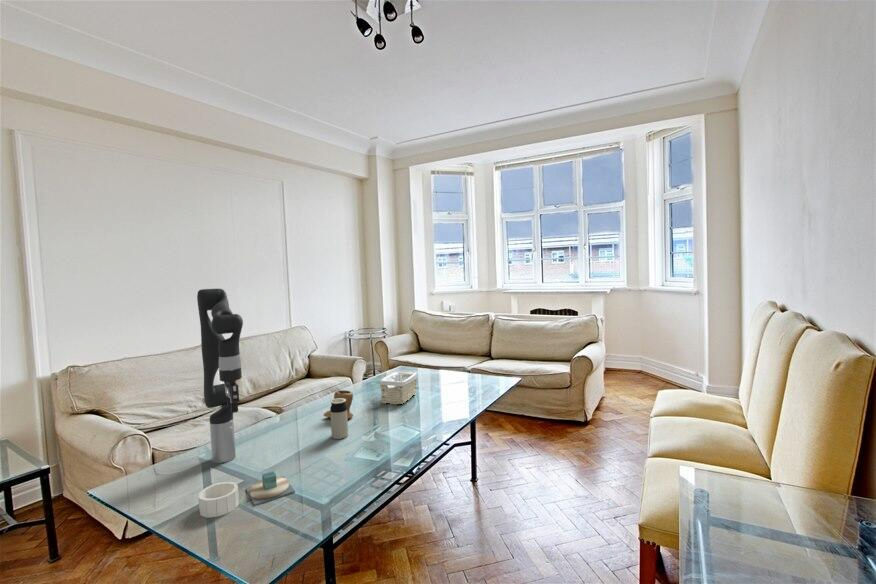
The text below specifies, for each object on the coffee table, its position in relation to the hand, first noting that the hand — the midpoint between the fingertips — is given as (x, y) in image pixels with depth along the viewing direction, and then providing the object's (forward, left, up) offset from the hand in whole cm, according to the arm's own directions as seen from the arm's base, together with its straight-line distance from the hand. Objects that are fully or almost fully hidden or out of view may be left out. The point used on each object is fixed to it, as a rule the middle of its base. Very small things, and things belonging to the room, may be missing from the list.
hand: (232, 409), depth 160 cm
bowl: (+12, -8, -30) cm, 33 cm away
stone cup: (-45, +61, -30) cm, 82 cm away
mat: (+12, +9, -30) cm, 34 cm away
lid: (+12, +9, -30) cm, 33 cm away
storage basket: (-51, +103, -30) cm, 119 cm away
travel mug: (-20, +50, -30) cm, 62 cm away
